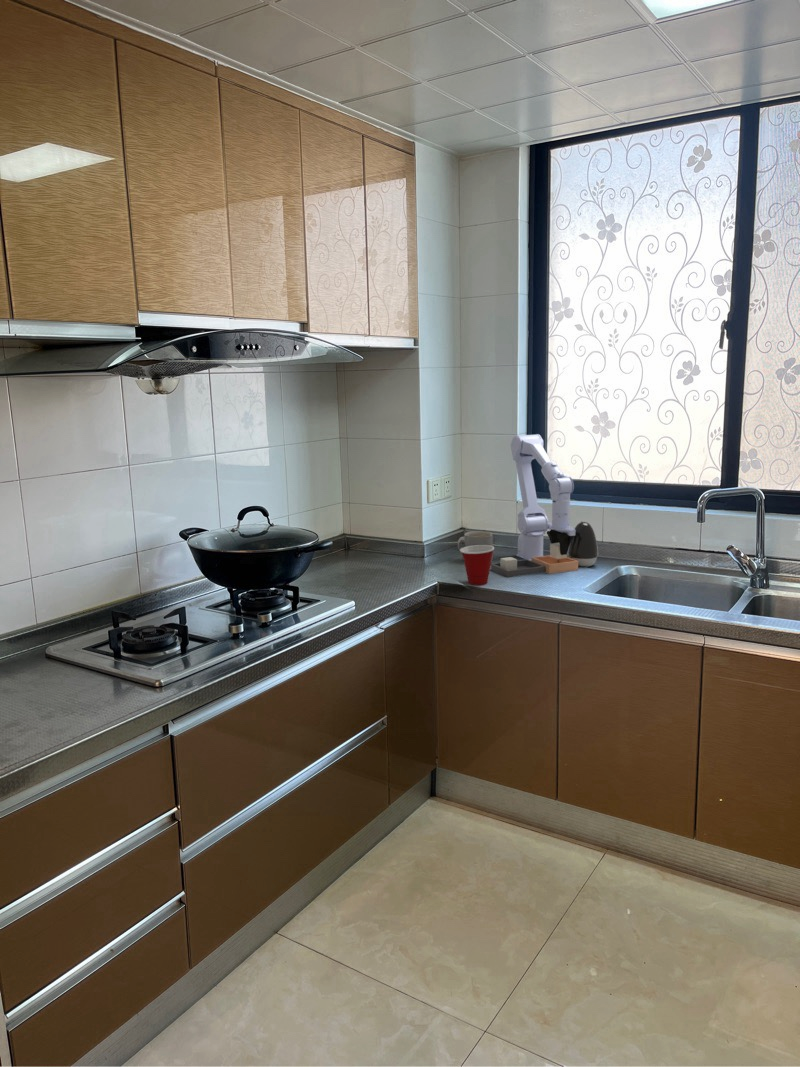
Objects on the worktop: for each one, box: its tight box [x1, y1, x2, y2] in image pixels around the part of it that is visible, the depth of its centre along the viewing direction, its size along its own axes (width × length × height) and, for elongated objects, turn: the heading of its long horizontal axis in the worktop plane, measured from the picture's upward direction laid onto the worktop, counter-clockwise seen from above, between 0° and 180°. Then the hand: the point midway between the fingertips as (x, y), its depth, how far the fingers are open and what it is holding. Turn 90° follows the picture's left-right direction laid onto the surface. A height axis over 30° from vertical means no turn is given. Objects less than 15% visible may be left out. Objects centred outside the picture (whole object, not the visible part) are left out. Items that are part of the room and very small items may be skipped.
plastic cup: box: [459, 545, 495, 586], centre depth 252 cm, size 11×11×12 cm
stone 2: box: [549, 543, 568, 559], centre depth 269 cm, size 4×4×4 cm
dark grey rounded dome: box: [567, 521, 599, 568], centre depth 274 cm, size 10×10×15 cm
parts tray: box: [490, 559, 546, 578], centre depth 267 cm, size 11×14×3 cm
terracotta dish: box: [530, 554, 579, 575], centre depth 270 cm, size 11×11×4 cm
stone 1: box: [499, 556, 518, 571], centre depth 265 cm, size 4×4×4 cm
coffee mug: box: [457, 530, 494, 563], centre depth 283 cm, size 13×10×10 cm
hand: (559, 553), depth 270 cm, fingers closed on stone 2, 4 cm apart
